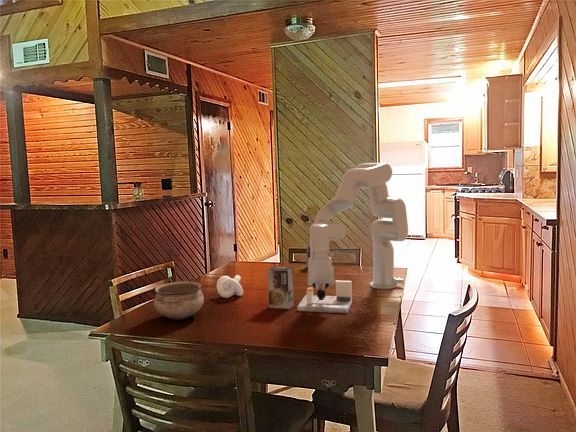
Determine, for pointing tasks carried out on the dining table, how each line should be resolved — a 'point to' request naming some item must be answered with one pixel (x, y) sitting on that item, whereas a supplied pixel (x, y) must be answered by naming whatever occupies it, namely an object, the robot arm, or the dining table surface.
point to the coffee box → (280, 287)
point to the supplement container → (308, 254)
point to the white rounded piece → (229, 286)
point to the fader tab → (310, 295)
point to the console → (325, 305)
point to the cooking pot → (178, 299)
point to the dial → (343, 289)
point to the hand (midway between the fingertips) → (321, 299)
